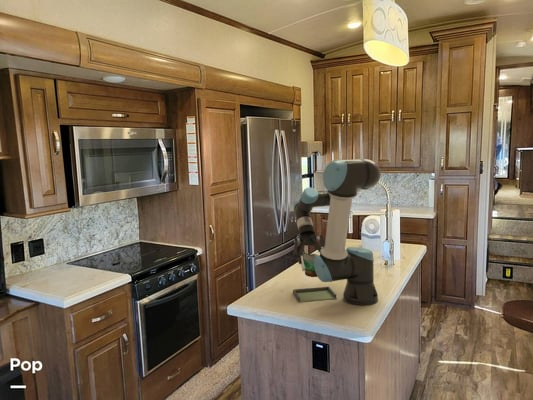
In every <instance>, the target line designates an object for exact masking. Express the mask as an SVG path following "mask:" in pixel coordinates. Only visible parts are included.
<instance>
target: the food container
mask: <svg viewBox="0 0 533 400" xmlns="http://www.w3.org/2000/svg"><path fill="white" fill-rule="evenodd" d="M317 255H318V254H315V253H308V252H307V253H306V252H305V251H304V250H303V251H302V254H301V256H303V261H304V266H305V270H304V275H305V276H306V277H310V278H318V276H317V274H316V272H315V268H314V258H315V257H316V256H317Z"/></svg>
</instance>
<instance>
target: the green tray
mask: <svg viewBox="0 0 533 400" xmlns="http://www.w3.org/2000/svg"><path fill="white" fill-rule="evenodd" d="M292 295H293V297H294V299H295V300H296V302H297V303H307V302H316V301H317V302H319V301H320V302H321V301H331V300H337V299H338V298H337V294H336V293H335V291H334V290H333V289H332V288H331V287H330V286H321V287H320V286H319V287H310V288H309V287H308V288H299V289H297V288H296V289H292Z"/></svg>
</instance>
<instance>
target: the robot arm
mask: <svg viewBox="0 0 533 400" xmlns="http://www.w3.org/2000/svg"><path fill="white" fill-rule="evenodd" d="M380 179H381V170H380V167H379V166H378V165H377V163H376V162H374V161H373V160H371V159H367V158H359V159H358V158H357V159H338V160H331V161H330V162H329V163H328V164H327V165H326V166H325V169H324V171H323V174H322V181H323V186H324V188H325V189H326V190H317V189H316V188H314V187H311V186H310V187H306V188H304V190H303V191H302V192H301V194H300V197H299V199H297V200H296V201H295V202H294V203H293V212H294V216H295V220H296V225H297V229H298V236H299V237H297V236H294V238H293V243H294V247H293V254H292V255H293V256H292V257H293V258H296V259H297V261H298V265H301V270H302V272H305V266H304V261H303V256H302V253H303V252H304V248H305V247H307V246H312V247H314V248H315V249H316V250H317V252H318V253H319V254H316V255H317V256H316V257H315V258H314V268H315V272H316V274H317V276H318V277H317V278H318V280H320V281H321V282H322V283H327V282H328V283H332V282H337V281H344V280H346V284H345V287H344V290H343V295H342V297H343V301H344V302H346V303H347V304H351V305H356V306H369V305H373V304H375V303H377V302H378V301H379V296H378V295H379V294H378V291H377V288H376V286H375V283H374V282H375V281H374V279H375V277H374V261H375V260H374V254H373V251H372V250H370V249H368V248H362V247H358V246H357V247H356V246H348V247H346V246H347V245H346V243H347V237H348V229H349V225H350V224H349V223H350V222H349V221H350V215H351V210H352V209H351V208H352V201H353V198H356V197H357V195H358V193H359V192H361V191H363V190H364V191H365V190H366V191H367V190H370V188H373V187H374V186H376V185H377V184H378V183H379V181H380ZM319 207H328V208H329V209H328V216H327V224H326V231H325V238H324V237H323V235H320V236H318V235H316V233H315V228H314V223H313V220H312V216H311V212H312V210H313V209H314V208H319ZM323 238H324V239H325V240H324V239H323ZM299 242H301V243H302V244H301V246H300V249H299V251H298V245H299V244H298V243H299ZM318 242H319V243H318Z"/></svg>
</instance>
